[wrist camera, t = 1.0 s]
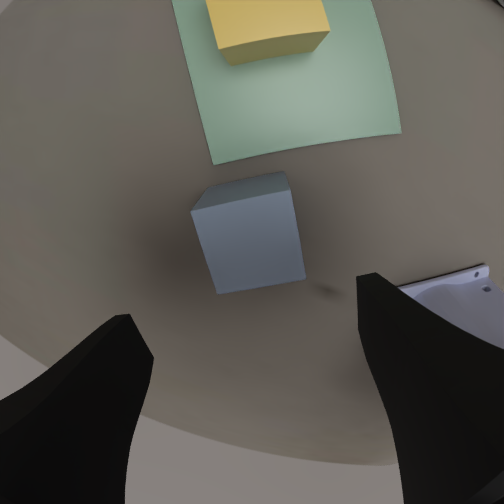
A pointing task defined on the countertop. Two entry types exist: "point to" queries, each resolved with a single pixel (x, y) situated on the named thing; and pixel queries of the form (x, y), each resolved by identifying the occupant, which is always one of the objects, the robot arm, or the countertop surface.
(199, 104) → the baseplate
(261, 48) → the yellow brick
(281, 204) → the blue brick
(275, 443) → the countertop surface
